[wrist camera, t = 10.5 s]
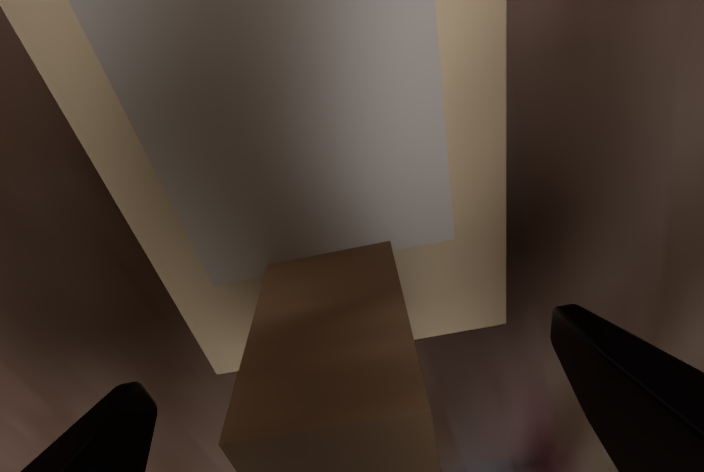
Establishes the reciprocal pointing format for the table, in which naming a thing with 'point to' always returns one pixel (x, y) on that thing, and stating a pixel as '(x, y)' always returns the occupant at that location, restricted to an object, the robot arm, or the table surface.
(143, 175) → the board
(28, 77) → the table surface
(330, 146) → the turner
